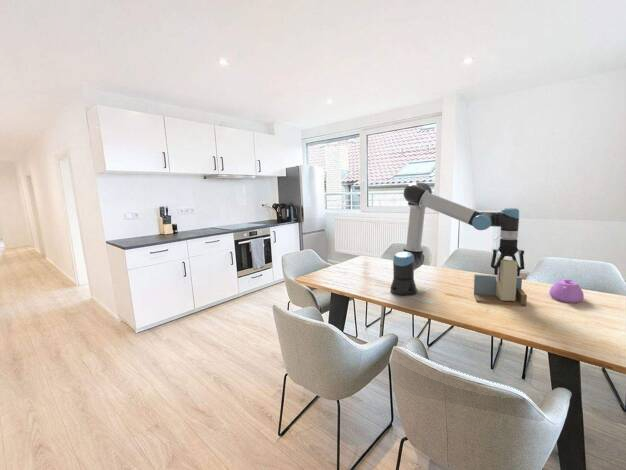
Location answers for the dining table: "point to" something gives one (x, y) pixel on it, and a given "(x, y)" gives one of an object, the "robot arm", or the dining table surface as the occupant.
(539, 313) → the dining table surface
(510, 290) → the toy refrigerator
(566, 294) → the purple dimpled dome
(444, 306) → the dining table surface
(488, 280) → the cleat board
